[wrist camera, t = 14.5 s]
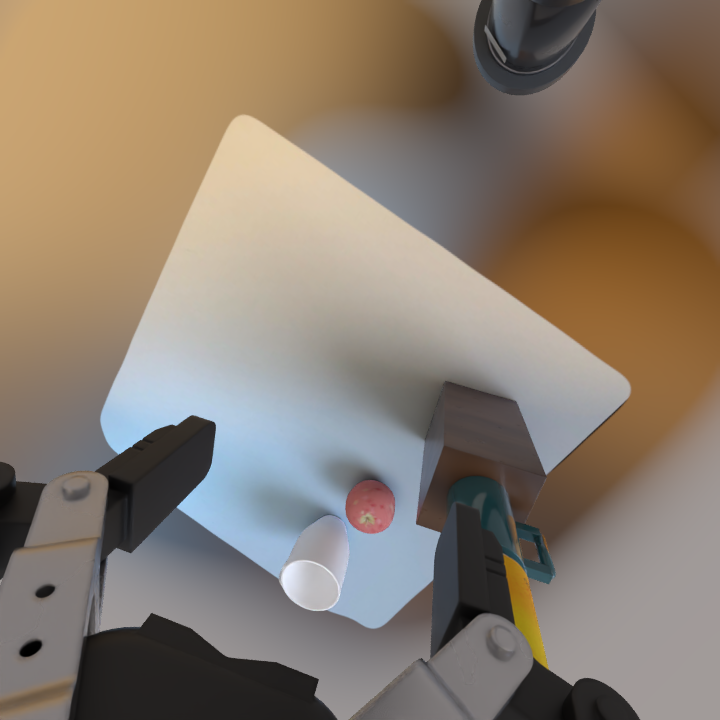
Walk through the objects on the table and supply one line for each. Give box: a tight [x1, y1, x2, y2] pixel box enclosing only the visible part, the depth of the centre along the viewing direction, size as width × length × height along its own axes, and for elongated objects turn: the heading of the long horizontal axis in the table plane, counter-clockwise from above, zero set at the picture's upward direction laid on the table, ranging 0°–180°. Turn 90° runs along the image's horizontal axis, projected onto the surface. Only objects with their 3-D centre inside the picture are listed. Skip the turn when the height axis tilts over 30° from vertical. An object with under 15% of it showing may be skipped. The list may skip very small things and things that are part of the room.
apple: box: [345, 480, 395, 534], centre depth 60 cm, size 7×7×8 cm
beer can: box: [503, 553, 549, 670], centre depth 25 cm, size 6×6×15 cm
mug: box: [279, 515, 349, 611], centre depth 63 cm, size 12×9×12 cm
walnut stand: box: [416, 381, 547, 532], centre depth 49 cm, size 10×10×18 cm
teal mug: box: [446, 476, 556, 584], centre depth 36 cm, size 6×9×9 cm
